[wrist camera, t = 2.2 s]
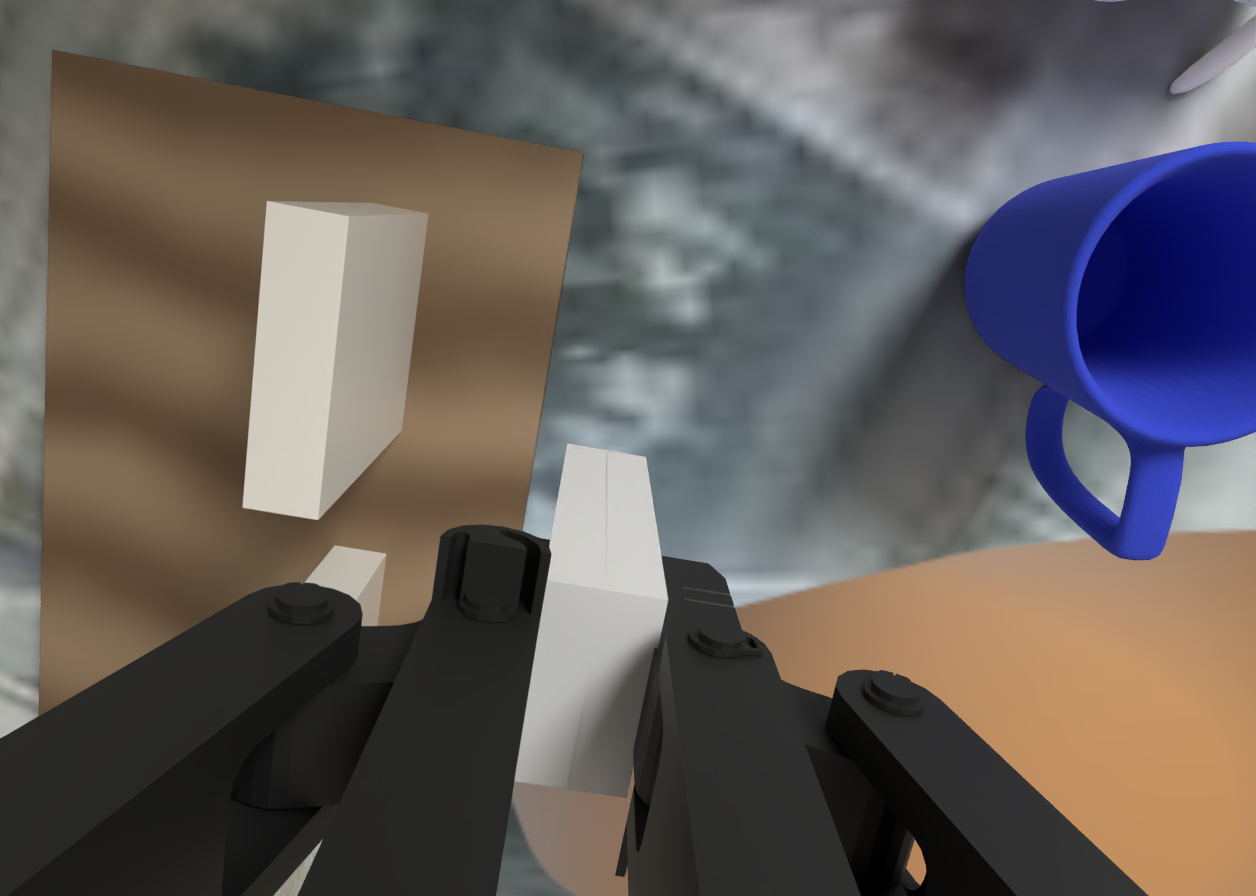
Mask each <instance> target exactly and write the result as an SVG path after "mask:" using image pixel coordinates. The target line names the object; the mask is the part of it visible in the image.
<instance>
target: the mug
mask: <svg viewBox="0 0 1256 896" xmlns="http://www.w3.org/2000/svg"><path fill="white" fill-rule="evenodd" d="M964 288H965V299H966V304H967V308H968V312H969V315H970V317H971V320H972V322H973V324H974V326H975V328H976V330H977V331H978V333H979V334H980V336H981V337H982V338H983V340H984V341H985V342H986V344H987V345H988V346H989V347H990V348H991V349H992V350H993V351H994V352H995V353H997V354H998V355H999V356H1001V357H1002V358H1003V359H1005V360H1006V361H1008V362H1009V363H1011V364H1012V365H1014V366H1015V367H1017V368H1019V369H1020V370H1022V371H1024V372H1025V373H1027V374H1029V375H1030V376H1032V377H1034V378H1035V379H1037V380H1038V381H1040V382H1042V383H1043V384H1045V385H1044V386H1043V387H1041V388H1040V389H1038V390H1037V392H1036V393H1035V395H1034V397H1033V399H1032V402H1031V404H1030V408H1029V412H1028V416H1027V423H1026V436H1025V439H1026V450H1027V455H1028V459H1029V462H1030V465H1031V468H1032V470H1033V472H1034V474H1035V476H1036V478H1037V480H1038V481H1039V483H1040V484H1041V486H1042V487H1043V488H1044V490H1045V491H1046V492H1047V494H1048V495H1049V496H1050V497H1051V498H1052V500H1053V501H1054V502H1055V503H1056V504H1057V505H1058V506H1059V507H1060V508H1061V509H1062V510H1063V511H1064V512H1065V513H1066V514H1067V515H1068V516H1069V517H1070V518H1071V519H1072V520H1073V521H1074V522H1075V523H1076V524H1077V525H1078V526H1079V527H1081V528H1082V529H1083V530H1084V531H1085V532H1086V533H1087V534H1089V535H1090V536H1091V537H1092V538H1093V539H1094V540H1095V541H1097V542H1098V543H1099V544H1100V545H1101V546H1102V547H1103V548H1105V549H1106V550H1107V551H1109V552H1110V553H1112V554H1113V555H1115V556H1117V557H1119V558H1123V559H1129V560H1150V559H1153V558H1155V557H1157V556H1159V555H1160V554H1161V552H1162V550H1163V548H1164V546H1165V543H1166V540H1167V536H1168V533H1169V530H1170V526H1171V523H1172V520H1173V516H1174V512H1175V507H1176V503H1177V498H1178V494H1179V489H1180V485H1181V479H1182V470H1183V459H1184V450H1185V447H1196V446H1208V445H1214V444H1219V443H1224V442H1228V441H1231V440H1235V439H1238V438H1241V437H1244V436H1246V435H1249V434H1251V433H1254V432H1256V143H1251V142H1221V143H1213V144H1207V145H1202V146H1198V147H1193V148H1189V149H1185V150H1180V151H1176V152H1171V153H1167V154H1163V155H1158V156H1154V157H1149V158H1145V159H1141V160H1136V161H1132V162H1128V163H1123V164H1119V165H1114V166H1110V167H1106V168H1101V169H1097V170H1093V171H1088V172H1084V173H1079V174H1075V175H1071V176H1066V177H1062V178H1058V179H1054V180H1050V181H1047V182H1044V183H1041V184H1038V185H1036V186H1033V187H1031V188H1029V189H1027V190H1025V191H1024V192H1022V193H1020V194H1018V195H1017V196H1015V197H1014V198H1012V199H1011V200H1009V201H1008V202H1007V203H1006V204H1004V205H1003V206H1002V207H1001V208H1000V209H999V210H998V211H997V212H996V213H995V214H994V215H993V216H992V217H991V218H990V219H989V220H988V222H987V223H986V224H985V226H984V227H983V229H982V230H981V232H980V233H979V235H978V237H977V238H976V240H975V242H974V245H973V247H972V249H971V252H970V255H969V258H968V261H967V266H966V272H965V287H964ZM1069 399H1070V400H1072V401H1073V402H1075V403H1077V404H1078V405H1080V406H1081V407H1083V408H1085V409H1086V410H1088V411H1090V412H1091V413H1093V414H1095V415H1096V416H1098V417H1100V418H1101V419H1103V420H1104V421H1106V422H1107V423H1109V424H1110V425H1111V426H1112V427H1113V428H1114V429H1115V430H1117V431H1118V432H1119V434H1120V435H1121V436H1122V437H1123V438H1124V440H1125V441H1126V443H1127V445H1128V448H1129V451H1130V456H1131V467H1130V475H1129V480H1128V485H1127V490H1126V495H1125V500H1124V505H1123V509H1122V513H1121V516H1120V518H1119V517H1118V516H1117V515H1115V514H1114V513H1113V512H1112V511H1111V510H1109V509H1108V508H1107V507H1106V506H1105V505H1103V504H1102V503H1101V502H1100V501H1098V500H1097V499H1096V498H1095V497H1094V496H1093V495H1092V494H1091V493H1090V492H1089V491H1088V490H1087V489H1086V488H1085V487H1084V486H1083V485H1082V484H1081V482H1080V481H1079V480H1078V478H1077V477H1076V476H1075V475H1074V473H1073V471H1072V470H1071V468H1070V466H1069V464H1068V462H1067V459H1066V457H1065V453H1064V449H1063V442H1062V424H1063V417H1064V412H1065V409H1066V406H1067V402H1068V400H1069Z"/></svg>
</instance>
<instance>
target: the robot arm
mask: <svg viewBox="0 0 1256 896" xmlns="http://www.w3.org/2000/svg"><path fill="white" fill-rule="evenodd" d="M733 606H734V604H733V601H732V598H731V596H730V592H729V589H728V586H727V582H726V579H725V578H724V577H723V576H722V575H721V574H720V573H719V572H717V571H716V570H715V569H714V568H713V567H712V566H711V565H709V564H708V563H702V562H696V561H690V560H684V559H678V558H672V557H666V556H661V551H660V545H659V538H658V532H657V526H656V519H655V513H654V506H653V500H652V494H651V487H650V481H649V475H648V468H647V462H646V457H642V456H636V455H631V454H625V453H619V452H613V451H607V450H602V449H596V448H590V447H584V446H578V445H573V444H567V449H566V455H565V461H564V466H563V472H562V478H561V483H560V489H559V494H558V500H557V506H556V511H555V517H554V522H553V528H552V534H551V539H550V540H547V539H541V538H538V537H535V536H533V535H531V534H528V533H526V532H523V531H520V530H516V529H512V528H507V527H503V526H494V525H483V524H479V525H462V526H459V527H455V528H451V529H448V530H447V531H446V532H445V533H443V534H442V535H441V536H440V543H439V550H438V557H437V564H436V571H435V578H434V585H433V592H432V600H431V602H430V604H429V607H428V609H427V611H426V613H425V615H424V618H423V620H420V621H417V622H413V623H408V624H403V625H392V626H361V625H362V616H363V613H362V609H361V604H360V603H358V602H357V601H356V600H355V599H354V598H353V597H351V596H350V595H348V594H346V593H343V592H341V591H338V590H335V589H333V588H328V587H322V586H319V585H318V584H315V583H306V582H303V584H300V582H290V583H286V584H285V585H279V586H272V587H266V588H263V589H261V590H258V591H256V592H253V593H250V594H248V595H246V596H245V597H243V598H241V599H239V600H238V601H236V602H234V603H233V604H231V605H229V606H227V607H226V608H224V609H222V610H221V611H219V612H217V613H215V614H214V615H212V616H210V617H209V618H207V619H205V620H203V621H202V622H200V623H198V624H196V625H195V626H193V627H191V628H190V629H188V630H186V631H184V632H183V633H181V634H179V635H178V636H176V637H174V638H172V639H171V640H169V641H167V642H166V643H164V644H162V645H160V646H159V647H157V648H155V649H154V650H152V651H150V652H148V653H147V654H145V655H143V656H142V657H140V658H138V659H136V660H135V661H133V662H131V663H130V664H128V665H126V666H124V667H123V668H121V669H119V670H117V671H116V672H114V673H112V674H111V675H109V676H107V677H105V678H104V679H102V680H100V681H99V682H97V683H95V684H93V685H92V686H90V687H88V688H87V689H85V690H83V691H81V692H80V693H78V694H76V695H75V696H73V697H71V698H69V699H68V700H66V701H64V702H63V703H61V704H59V705H57V706H56V707H54V708H52V709H51V710H49V711H47V712H45V713H44V714H42V715H40V716H38V717H37V718H35V719H33V720H32V721H30V722H28V723H26V724H25V725H23V726H21V727H20V728H18V729H16V730H14V731H13V732H11V733H9V734H8V735H6V736H4V737H2V738H1V739H0V896H274V895H275V893H276V892H277V891H278V890H279V889H280V888H281V886H282V885H283V884H284V883H285V882H286V881H287V880H288V878H289V877H290V876H291V875H292V874H293V873H294V871H295V870H296V869H297V868H298V867H299V866H300V865H301V863H302V862H303V861H304V860H305V859H306V858H307V856H308V855H309V854H310V853H311V852H312V851H313V850H314V848H315V847H316V846H317V845H318V844H319V843H320V841H321V840H322V839H323V841H322V843H321V845H320V847H319V849H318V852H317V854H316V856H315V858H314V860H313V863H312V865H311V867H310V869H309V872H308V874H307V876H306V878H305V880H304V883H303V885H302V887H301V889H300V891H299V894H298V896H496V892H497V885H498V879H499V873H500V867H501V860H502V854H503V848H504V842H505V836H506V829H507V823H508V817H509V811H510V805H511V798H512V792H513V786H514V781H516V782H523V783H530V784H537V785H543V786H551V787H557V788H563V789H570V790H578V791H584V792H591V793H597V794H605V795H611V796H618V797H625V798H626V797H627V793H628V789H629V784H630V779H631V775H632V770H633V765H634V780H635V785H634V789H633V794H632V799H631V803H630V808H629V813H628V818H627V822H626V827H625V832H624V837H623V842H622V846H621V851H620V856H619V860H618V865H617V870H616V874H615V875H616V876H622V877H624V876H625V873H626V870H627V867H628V891H629V892H628V893H629V896H1148V895H1147V894H1146V893H1145V892H1144V891H1143V890H1142V889H1141V888H1140V887H1139V886H1138V885H1137V884H1135V883H1134V882H1133V881H1132V880H1131V879H1130V878H1129V877H1128V876H1127V875H1126V874H1125V873H1124V872H1123V871H1122V870H1121V869H1120V868H1119V867H1117V866H1116V865H1115V864H1114V863H1113V862H1112V861H1111V860H1110V859H1109V858H1108V857H1107V856H1106V855H1105V854H1104V853H1103V852H1102V851H1101V850H1099V849H1098V848H1097V847H1096V846H1095V845H1094V844H1093V843H1092V842H1091V841H1090V840H1089V839H1088V838H1087V837H1085V835H1084V834H1083V833H1081V832H1080V831H1079V830H1078V829H1077V828H1076V827H1075V826H1074V825H1073V824H1072V823H1071V822H1070V821H1069V820H1067V818H1066V817H1064V816H1063V815H1062V814H1061V813H1060V812H1059V811H1058V810H1057V809H1056V808H1055V807H1054V806H1053V805H1052V804H1051V803H1050V802H1049V801H1047V800H1046V799H1045V798H1044V797H1043V796H1042V795H1041V794H1040V793H1039V792H1038V791H1037V790H1036V789H1035V788H1034V787H1033V786H1031V784H1029V783H1028V782H1027V781H1026V780H1025V779H1024V778H1023V777H1022V776H1021V775H1020V774H1019V773H1018V772H1017V771H1016V770H1015V769H1013V768H1012V767H1011V766H1010V765H1009V764H1008V763H1007V762H1006V761H1005V760H1004V759H1003V758H1002V757H1001V756H1000V755H999V754H998V753H996V751H994V750H993V749H992V748H991V747H990V746H989V745H988V744H987V743H986V742H985V741H984V740H983V739H982V738H981V737H980V736H979V735H977V734H976V733H975V732H974V731H973V730H972V729H971V728H970V727H969V726H968V725H967V724H966V723H965V722H964V721H963V720H962V719H961V718H959V717H958V716H957V715H956V714H955V713H954V712H953V711H952V710H951V709H950V708H949V707H948V706H947V705H946V704H945V703H944V702H942V701H941V700H940V699H939V698H937V697H936V696H935V695H933V694H932V693H931V692H929V691H928V690H927V689H925V688H923V687H921V686H919V685H917V684H915V683H912V682H911V681H910V679H908V678H906V677H904V676H901V675H898V674H896V676H894V675H893V673H892V672H888V671H883V670H880V671H871V670H854V671H847V672H845V673H843V674H842V675H840V676H838V679H837V683H836V686H835V690H834V694H833V698H830V697H827V696H824V695H821V694H818V693H814V692H811V691H808V690H805V689H802V688H800V687H797V686H794V685H792V684H789V683H787V682H785V681H783V680H781V678H780V675H779V673H778V670H777V667H776V665H775V662H774V659H773V656H772V654H771V652H770V651H769V650H768V648H767V647H766V645H765V644H764V643H763V642H761V641H760V640H758V638H756V637H754V636H753V635H751V634H749V633H747V632H745V631H742V629H741V626H740V623H739V620H738V617H737V613H736V610H735V608H733ZM914 840H916V842H917V843H918V845H919V847H920V849H921V850H922V854H923V857H924V860H925V864H926V875H925V878H924V880H923V882H922V884H921V886H920V885H919V884H918V883H917V882H916V881H915V880H914V878H913V877H912V876H911V874H910V873H909V872H908V870H907V869H906V866H907V862H908V860H909V856H910V853H911V850H912V846H913V843H914Z"/></svg>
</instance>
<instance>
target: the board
mask: <svg viewBox="0 0 1256 896" xmlns="http://www.w3.org/2000/svg"><path fill="white" fill-rule="evenodd" d="M583 158H584V154H583V153H582V152H577V151H571V150H566V149H561V148H556V147H551V146H546V145H541V144H535V143H530V142H525V141H520V140H515V139H510V138H504V137H499V136H494V135H489V134H484V133H479V132H473V131H468V130H463V129H458V128H453V127H448V126H443V125H437V124H432V123H427V122H422V121H417V120H412V119H406V118H401V117H396V116H391V115H386V114H381V113H376V112H370V111H365V110H360V109H355V108H350V107H345V106H339V105H334V104H329V103H324V102H319V101H314V100H308V99H303V98H298V97H293V96H288V95H283V94H278V93H272V92H267V91H262V90H257V89H252V88H247V87H241V86H236V85H231V84H226V83H221V82H216V81H211V80H205V79H200V78H195V77H190V76H185V75H180V74H174V73H169V72H164V71H159V70H154V69H149V68H144V67H138V66H133V65H128V64H123V63H118V62H113V61H107V60H102V59H97V58H92V57H87V56H82V55H76V54H71V53H66V52H61V51H56V50H52V92H51V141H50V190H49V240H48V289H47V338H46V387H45V437H44V486H43V535H42V585H41V634H40V683H39V716H40V715H42V714H44V713H45V712H47V711H49V710H51V709H52V708H54V707H56V706H57V705H59V704H61V703H63V702H64V701H66V700H68V699H69V698H71V697H73V696H75V695H76V694H78V693H80V692H81V691H83V690H85V689H87V688H88V687H90V686H92V685H93V684H95V683H97V682H99V681H100V680H102V679H104V678H105V677H107V676H109V675H111V674H112V673H114V672H116V671H117V670H119V669H121V668H123V667H124V666H126V665H128V664H130V663H131V662H133V661H135V660H136V659H138V658H140V657H142V656H143V655H145V654H147V653H148V652H150V651H152V650H154V649H155V648H157V647H159V646H160V645H162V644H164V643H166V642H167V641H169V640H171V639H172V638H174V637H176V636H178V635H179V634H181V633H183V632H184V631H186V630H188V629H190V628H191V627H193V626H195V625H196V624H198V623H200V622H202V621H203V620H205V619H207V618H209V617H210V616H212V615H214V614H215V613H217V612H219V611H221V610H222V609H224V608H226V607H227V606H229V605H231V604H233V603H234V602H236V601H238V600H239V599H241V598H243V597H245V596H246V595H248V594H250V593H253V592H256V591H258V590H261V589H263V588H266V587H272V586H279V585H285V584H286V583H290V582H300V584H303V582H305V581H306V580H307V579H308V578H309V576H310V575H311V574H312V573H313V571H314V570H315V569H316V568H317V566H318V565H319V564H320V563H321V562H322V560H323V559H324V558H325V557H326V555H327V554H328V553H329V552H330V551H331V549H332V548H333V547H334V546H335V545H336V546H342V547H348V548H354V549H360V550H366V551H373V552H379V553H385V554H386V561H385V570H384V578H383V586H382V594H381V602H380V610H379V618H378V626H392V625H403V624H408V623H413V622H417V621H420V620H423V618H424V615H425V613H426V611H427V609H428V607H429V604H430V602H431V600H432V592H433V585H434V578H435V571H436V564H437V557H438V550H439V543H440V536H441V535H442V534H443V533H445V532H446V531H447V530H448V529H451V528H455V527H459V526H462V525H479V524H483V525H494V526H503V527H507V528H512V529H516V530H520V531H522V530H523V524H524V518H525V512H526V506H527V500H528V494H529V488H530V482H531V475H532V469H533V463H534V457H535V451H536V445H537V439H538V433H539V426H540V420H541V414H542V408H543V402H544V396H545V390H546V384H547V378H548V371H549V365H550V359H551V353H552V347H553V341H554V335H555V329H556V323H557V316H558V310H559V304H560V298H561V292H562V286H563V280H564V274H565V268H566V261H567V255H568V249H569V243H570V237H571V231H572V225H573V219H574V213H575V206H576V200H577V194H578V188H579V182H580V176H581V170H582V164H583ZM267 201H293V202H350V203H375V204H380V205H386V206H391V207H396V208H402V209H407V210H412V211H418V212H423V213H428V222H427V230H426V238H425V247H424V255H423V263H422V271H421V279H420V287H419V295H418V303H417V311H416V319H415V327H414V335H413V343H412V352H411V360H410V368H409V376H408V384H407V392H406V400H405V408H404V416H403V424H402V431H401V432H400V433H399V434H398V435H397V436H396V437H395V438H394V439H393V441H392V442H391V443H390V444H389V445H388V446H387V447H386V448H385V449H384V450H383V451H382V452H381V453H380V454H379V455H378V457H377V458H376V459H375V460H374V461H373V462H372V463H371V464H370V465H369V466H368V467H367V468H366V469H365V470H364V472H363V473H362V474H361V475H360V476H359V477H358V478H357V479H356V480H355V481H354V482H353V483H352V484H351V485H350V487H349V488H348V489H347V490H346V491H345V492H344V493H343V494H342V495H341V496H340V497H339V498H338V499H337V500H336V502H335V503H334V504H333V505H332V506H331V507H330V508H329V509H328V510H327V511H326V512H325V513H324V514H323V515H322V516H321V518H320V519H319V520H314V519H308V518H302V517H296V516H290V515H284V514H278V513H272V512H266V511H260V510H254V509H247V508H243V495H244V483H245V470H246V458H247V445H248V432H249V420H250V407H251V395H252V382H253V370H254V357H255V344H256V332H257V319H258V307H259V294H260V281H261V269H262V256H263V244H264V231H265V218H266V206H267Z"/></svg>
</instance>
